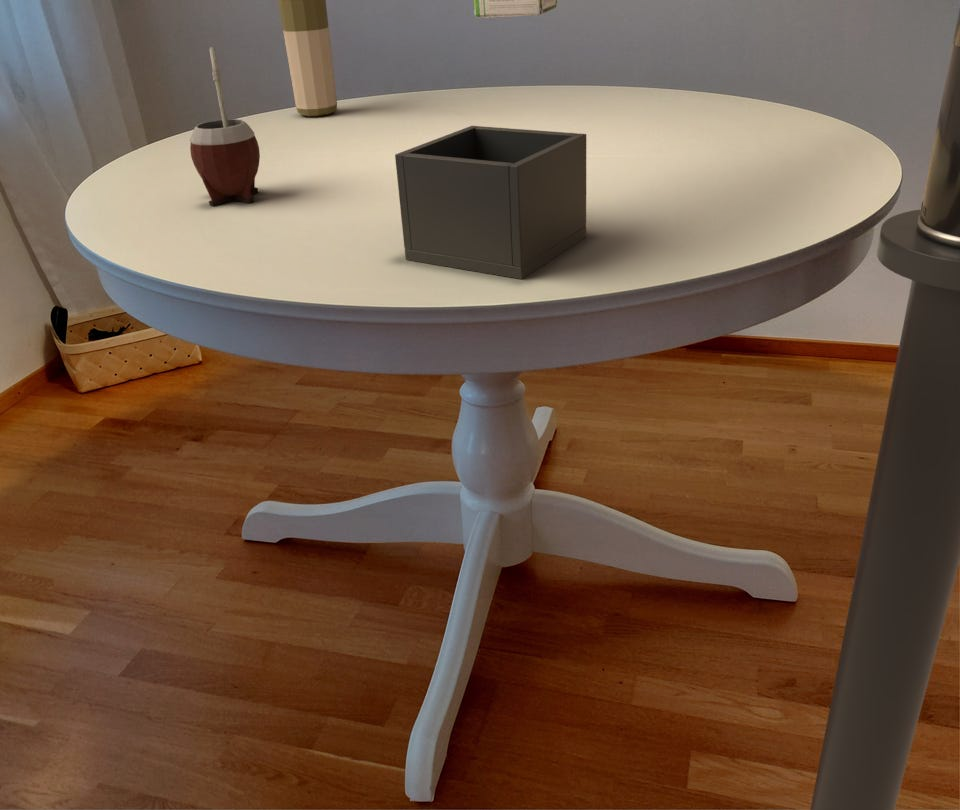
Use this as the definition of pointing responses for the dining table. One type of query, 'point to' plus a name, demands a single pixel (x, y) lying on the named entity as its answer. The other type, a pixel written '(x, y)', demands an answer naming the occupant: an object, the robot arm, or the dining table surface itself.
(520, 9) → the syrup box
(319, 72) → the bottle
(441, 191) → the waste bin
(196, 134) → the mate gourd
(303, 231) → the dining table surface
